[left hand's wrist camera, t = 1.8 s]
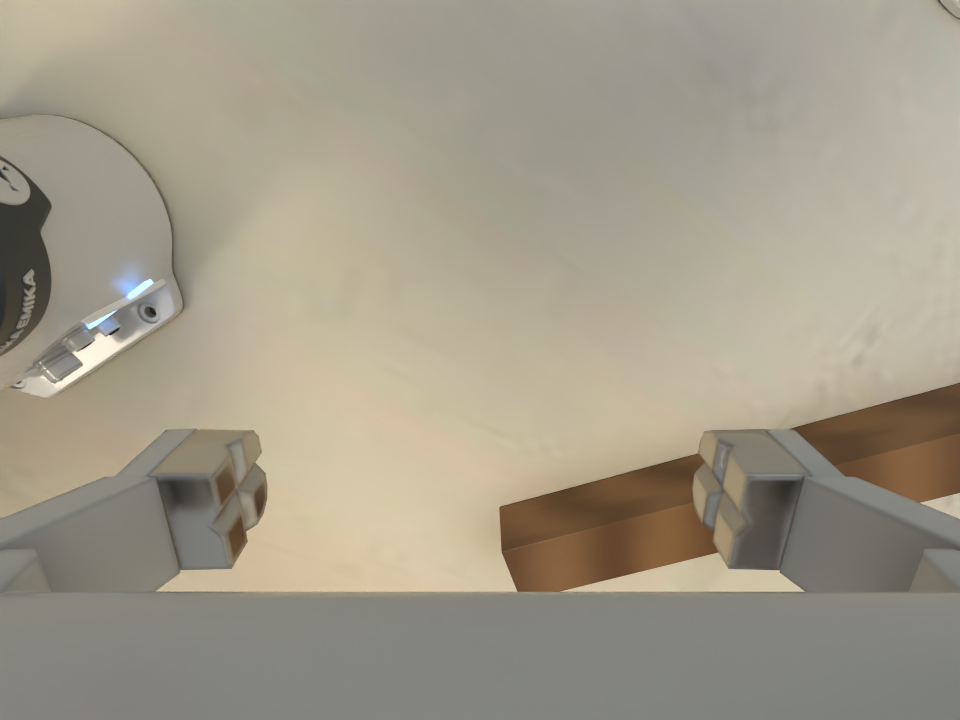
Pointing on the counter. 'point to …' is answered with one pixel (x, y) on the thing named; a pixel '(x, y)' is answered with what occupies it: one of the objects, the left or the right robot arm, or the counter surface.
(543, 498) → the beam
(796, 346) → the counter surface
